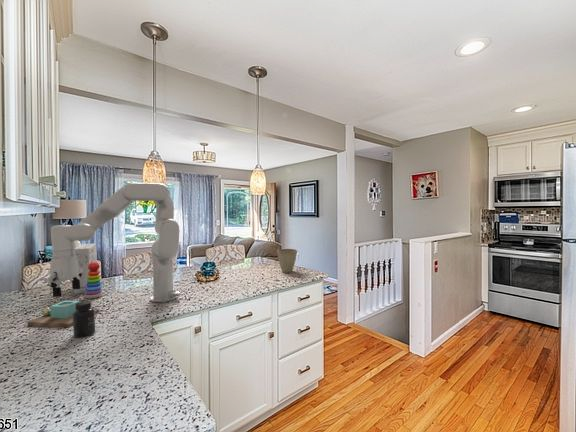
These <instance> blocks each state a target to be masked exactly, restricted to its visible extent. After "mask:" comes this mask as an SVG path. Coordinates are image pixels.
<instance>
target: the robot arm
mask: <svg viewBox="0 0 576 432" xmlns="http://www.w3.org/2000/svg"><path fill="white" fill-rule="evenodd" d="M136 201H137V202H140V201H141V202H144V201H145V202H147V201H149V202H150V201H152V202H153V203H154V205H155V223H154V230H155V233H156V234H157V235H159V236H158V239H156V240H155V241H153V244H152V245H151V257H152V258H151V259H152V284H153V286H152V292H153V293H152V294H153V295H152V296H151V297H149V301H150V302H152V303H166V302H170V301H173V300H175V299H176V298H177V297H180V295H181V292H180V291H176V288H174V262H173V258H176V257H175V256H177V253H178V251H179V247H180V245H179V244H180V225H179V223H178V222H177V221H176V220H175V219H174V218H175V217H174V216H175V211H174V210H175V207H174V201H173V199H172V197H171V196H170V190H169V188H168V186H167V185H165V184H163V183H159V182H158V183H157V182H152V183H151V182H130V183H126V184H124V185H123V186H122V187H120V188H119V189H117V190H116V191H115V192H114V193H113V194H112V195H111V196H109V197H108V198H107V199H105V200H104V201H103V202H102V203H101V204H100V205H98V206H97V208H95V209H94V210H93V211H92V212H90V213H89V214H88V215H87V216H85V217H84V218H83V219H82V220H81V221H79V222H78V223H77V224H75V225H74V224H73V225H71V224H59V225H54V226H51V228H50V237H51V238H50V239H51V250H52V258H51V260H50V268H49V276H48V277H47V278H46V280H45V281H46V283H47V284H48V286H49V287H50V288H51V289H52V297H54V298H61V297H62V287H61V284H62V282H65V281H66V282H67V281H69V280H71V279H72V280H71V286H72V287H71V288H72V289H73V290H74V289H80V279H81V276H82V271H83V269H82V268H79V267H78V261H77V257H76V255H75V248H76V246H75V241H76V242H77V241H79V242H80V241H81V242H83V241H84V242H85V241H86V242H87V241H90V240H92V239H93V238H94V237H95V235H96V232H97V231H98V230H99V229H100V228H101V227H102V226H104V225H105V224H106V223H108V222H109V221H111V220H113V219H114V220H115V218H117V217H118V216H120V214H122V213H123V212H124V211H126V210H127V209H128V208H129V207H130V206H131V205H132V204H133V203H134V202H136Z"/></svg>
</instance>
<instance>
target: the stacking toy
mask: <svg viewBox="0 0 576 432" xmlns="http://www.w3.org/2000/svg"><path fill="white" fill-rule="evenodd" d="M100 266H101V265H100V263H99V262H92V263H90V264H89V266H88V269H89V270H90V271H89V272H88V275H89V276H88V277H87V278H88V280H87V282H88V283H87V284H86V286H87V287H86V291H85V293H84V298H85V299H88V300H89V299H97V298H100V297H102V296H103V292H102V291H103V289H102V285H101V284H102V282H101V275H100V273H101V271H100V270H99V269H100Z"/></svg>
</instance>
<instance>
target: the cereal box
mask: <svg viewBox="0 0 576 432" xmlns="http://www.w3.org/2000/svg"><path fill="white" fill-rule="evenodd" d="M97 252H98V251H97V243H82V244H80V245H78V246H75V255H76V257H77V261H78V267H79V268H82V269H83V271H82V276H81V279H80V289H73V294H83V293H84V294H85V291H86V287H87V286H86V284H87V283H88V282H87V280H88V278H87V277H88V276H89V275H88V272H89V271H90V270H89V269H88V266H89V264H90V263H92V262H97V259H98V257H97ZM97 263H98V262H97Z"/></svg>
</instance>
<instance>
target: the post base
mask: <svg viewBox="0 0 576 432" xmlns="http://www.w3.org/2000/svg"><path fill="white" fill-rule="evenodd" d="M62 305H68V304H62ZM93 309H94V311H95V315H96V314H98V313H100V308H93ZM27 326H29V327H32V326H33V327H52V328H53V327H57V328H71V327H73V316H70V317H68V318H51V315H49V316H48V317H45V315H43V314H42V315H41V316H39V317H36V318H34V319H32V320H30V321H27Z"/></svg>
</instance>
